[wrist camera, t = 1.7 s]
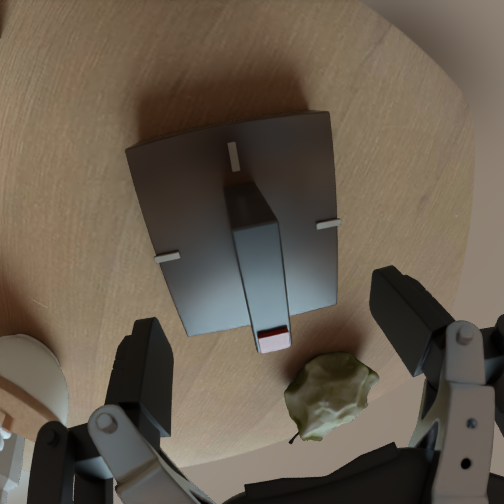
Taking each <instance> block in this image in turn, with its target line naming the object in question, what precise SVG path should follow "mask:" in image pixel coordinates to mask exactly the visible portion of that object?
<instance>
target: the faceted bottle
mask: <svg viewBox="0 0 504 504" xmlns="http://www.w3.org/2000/svg"><path fill="white" fill-rule="evenodd" d="M3 441H4V446H3V449H2V451H0V504H6V501H7V494H8V492H9V491H10V490H12V489H13V488H14V487H16V486H17V485H19V480H20V474H21V469H22V463H23V451H24V442H25V438H24V437H22V436H20V435H18V434H16V433H14V432H12V433H11V436H10V438H8V439H3Z"/></svg>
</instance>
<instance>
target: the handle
mask: <svg viewBox="0 0 504 504" xmlns="http://www.w3.org/2000/svg"><path fill="white" fill-rule="evenodd" d="M223 194H224V199H225V204H226V209H227V215H228V220H229V225H230V230H231V235H232V240H233V245H234V249H235V254H236V259H237V263H238V268H239V273H240V277H241V282H242V287H243V291H244V296H245V300H246V305H247V310H248V314H249V319H250V323H251V328H252V332H253V336H254V341H255V345H256V350H257V352H261V354H263V353H267V352H272V351H276V350H280V349H285V348H289V347H290V345H292V335H291V325H290V314H289V305H288V295H287V286H286V276H285V267H284V259H283V250H282V242H281V233H280V225H279V221H278V219H277V217H276V216H275V214H274V212H273V211H272V209H271V208H270V206H269V204H268V203H267V201H266V199H265V198H264V196H263V195H262V193H261V191H260V190H259V188H258V187H257V185H256V183H254V182H253V183H248V184H243V185H238V186H233V187H228V188H224V189H223Z"/></svg>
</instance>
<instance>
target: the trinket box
mask: <svg viewBox="0 0 504 504" xmlns="http://www.w3.org/2000/svg"><path fill="white" fill-rule="evenodd" d="M68 411H69V391H68V386H67V382H66V379H65V376H64V374H63V372H62V370H61V368H60V364H59V361H58V359H57V358H56V356H55V355H54V354H53V352H52V351H51V350H50V349H49V348H48V347H47V346H45V345H44V344H43V343H41V342H40V341H38V340H37V339H35V338H33V337H31V336H28V335H25V334H16V335H8V336H2V337H0V424H1V425H2V427H1V428H2V429H3V430H4V431H6V432H7V433H10V434H11V433H12V432H14V433H16V434H18V435H20V436H22V437H24V438H26V439H28V440H31V441H34V442H36V437H37V434H38V431H39V430H40V428H41V427H42V426H43V425H44V424H45V423H47V422H49V421H59V422H61V423H62V424H63V425H64V426H66V424H67V418H68Z"/></svg>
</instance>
